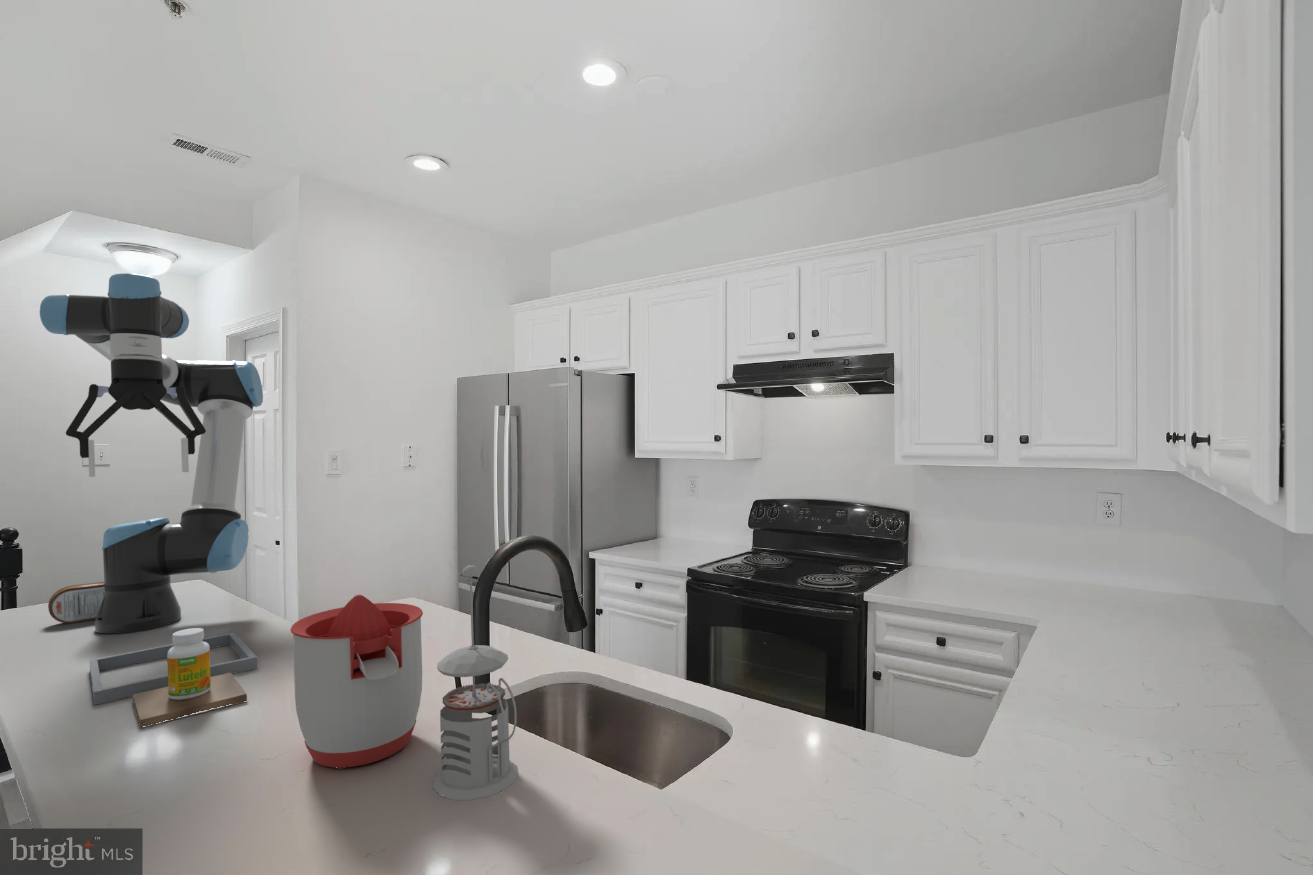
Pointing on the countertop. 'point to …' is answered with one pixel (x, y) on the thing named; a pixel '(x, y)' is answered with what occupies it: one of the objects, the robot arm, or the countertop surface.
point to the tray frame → (128, 689)
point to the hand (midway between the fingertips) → (140, 474)
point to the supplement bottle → (188, 665)
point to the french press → (474, 724)
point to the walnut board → (186, 701)
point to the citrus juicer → (358, 680)
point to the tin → (77, 602)
